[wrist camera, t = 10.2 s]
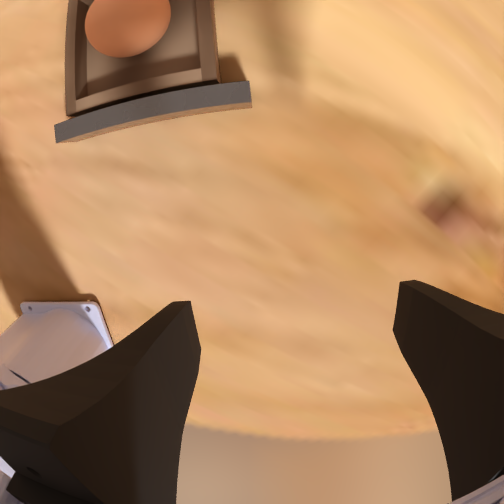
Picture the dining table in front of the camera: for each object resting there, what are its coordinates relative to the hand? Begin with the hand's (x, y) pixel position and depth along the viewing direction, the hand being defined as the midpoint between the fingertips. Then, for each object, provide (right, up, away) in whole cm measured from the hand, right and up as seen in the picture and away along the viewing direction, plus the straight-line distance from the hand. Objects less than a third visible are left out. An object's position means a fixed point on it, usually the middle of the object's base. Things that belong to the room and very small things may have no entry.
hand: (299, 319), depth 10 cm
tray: (-9, +16, +5) cm, 19 cm away
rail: (-8, +11, +7) cm, 15 cm away
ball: (-9, +16, +4) cm, 19 cm away
